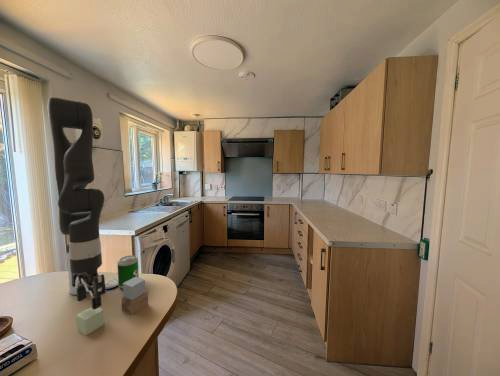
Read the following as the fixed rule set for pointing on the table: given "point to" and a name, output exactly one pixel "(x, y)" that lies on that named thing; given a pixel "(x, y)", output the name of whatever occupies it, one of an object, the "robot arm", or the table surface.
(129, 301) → the walnut block
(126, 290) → the slate cube
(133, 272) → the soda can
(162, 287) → the table surface
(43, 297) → the table surface
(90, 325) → the sage cube
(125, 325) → the table surface
